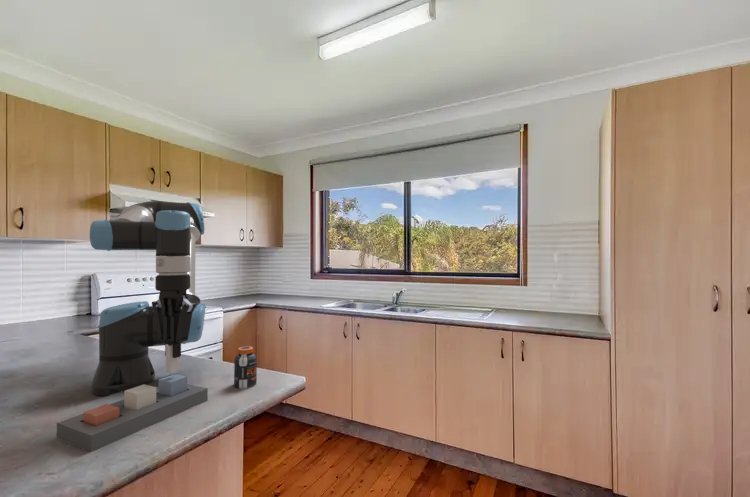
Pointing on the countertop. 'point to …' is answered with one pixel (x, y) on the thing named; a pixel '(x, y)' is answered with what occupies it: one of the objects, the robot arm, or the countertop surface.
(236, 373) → the pill bottle
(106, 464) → the countertop surface
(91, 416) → the key red
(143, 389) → the key white
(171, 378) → the key blue
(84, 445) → the frame
